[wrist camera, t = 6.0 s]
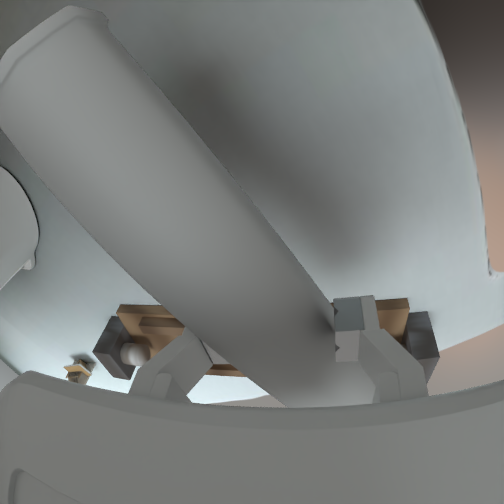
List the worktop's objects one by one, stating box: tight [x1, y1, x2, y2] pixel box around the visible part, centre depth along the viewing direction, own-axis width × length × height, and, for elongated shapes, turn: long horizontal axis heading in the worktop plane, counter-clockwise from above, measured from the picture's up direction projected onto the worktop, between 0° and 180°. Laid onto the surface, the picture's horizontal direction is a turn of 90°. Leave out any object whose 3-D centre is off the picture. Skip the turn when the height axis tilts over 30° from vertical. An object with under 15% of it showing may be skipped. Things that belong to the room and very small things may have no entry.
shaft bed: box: [93, 298, 440, 384], centre depth 36 cm, size 41×11×6 cm, turn 100°
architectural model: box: [64, 359, 96, 385], centre depth 50 cm, size 3×7×7 cm, turn 120°
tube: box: [0, 5, 376, 408], centre depth 13 cm, size 5×5×25 cm
